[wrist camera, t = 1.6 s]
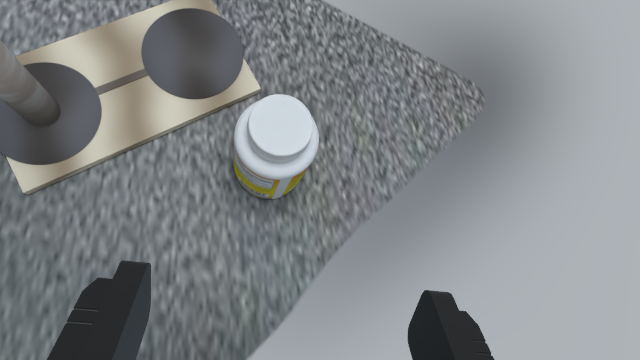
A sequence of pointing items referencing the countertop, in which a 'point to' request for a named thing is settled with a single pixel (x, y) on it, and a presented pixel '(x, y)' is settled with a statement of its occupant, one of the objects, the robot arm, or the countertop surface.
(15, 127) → the peg stand
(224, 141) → the countertop surface
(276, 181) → the supplement bottle
